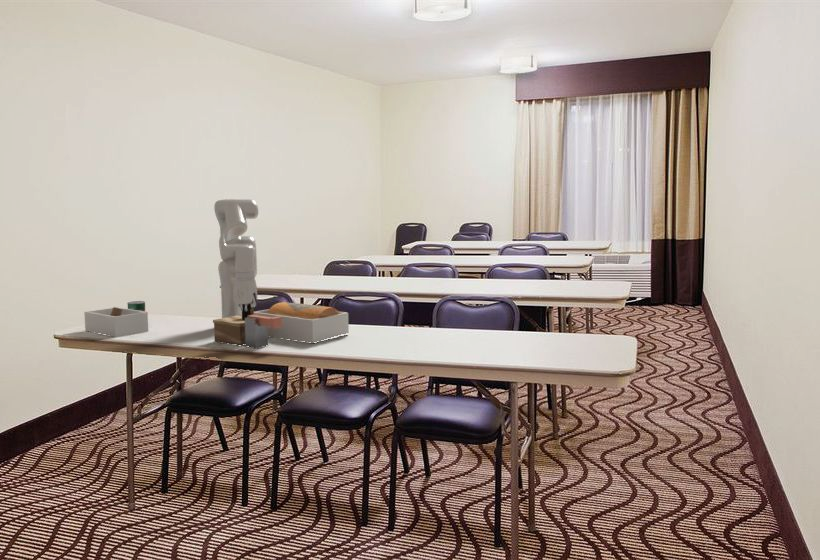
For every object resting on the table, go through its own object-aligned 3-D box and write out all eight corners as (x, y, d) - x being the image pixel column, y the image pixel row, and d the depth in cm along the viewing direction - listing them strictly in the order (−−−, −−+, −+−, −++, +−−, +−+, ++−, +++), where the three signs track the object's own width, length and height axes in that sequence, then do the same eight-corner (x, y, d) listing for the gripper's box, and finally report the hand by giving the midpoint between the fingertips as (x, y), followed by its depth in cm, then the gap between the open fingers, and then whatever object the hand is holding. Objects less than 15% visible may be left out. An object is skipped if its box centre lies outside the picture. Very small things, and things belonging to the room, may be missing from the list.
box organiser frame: (289, 326, 319) (289, 305, 318) (348, 335, 299) (348, 312, 298) (252, 334, 300) (252, 312, 299) (312, 344, 280) (312, 320, 279)
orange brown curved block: (343, 336, 298) (342, 305, 296) (317, 342, 284) (317, 310, 282) (293, 328, 314) (293, 299, 313) (267, 334, 301) (266, 304, 299)
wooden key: (254, 322, 279) (253, 313, 278) (281, 326, 270) (281, 317, 269) (246, 324, 275) (245, 314, 275) (273, 328, 266) (273, 318, 266)
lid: (239, 317, 297) (239, 299, 296) (266, 321, 287) (265, 302, 286) (212, 322, 285) (212, 303, 284) (239, 326, 275) (239, 307, 274)
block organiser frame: (117, 325, 320) (116, 307, 319) (148, 331, 307) (147, 312, 306) (85, 331, 307) (84, 311, 306) (115, 337, 294) (114, 317, 293)
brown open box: (240, 335, 297) (239, 317, 296) (265, 340, 288) (265, 321, 287) (214, 341, 286) (214, 322, 285) (240, 345, 277) (239, 326, 276)
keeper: (258, 343, 281) (257, 315, 279) (268, 345, 277) (267, 316, 276) (245, 346, 275) (244, 317, 274) (255, 348, 272) (255, 319, 270)
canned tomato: (131, 323, 327) (130, 301, 326) (148, 323, 328) (147, 300, 326) (125, 326, 319) (124, 303, 318) (143, 326, 320) (141, 303, 318)
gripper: (225, 275, 277) (227, 319, 279) (250, 277, 269) (252, 323, 271) (240, 274, 283) (241, 317, 285) (264, 276, 275) (266, 320, 277)
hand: (246, 320), depth 278 cm, fingers closed
